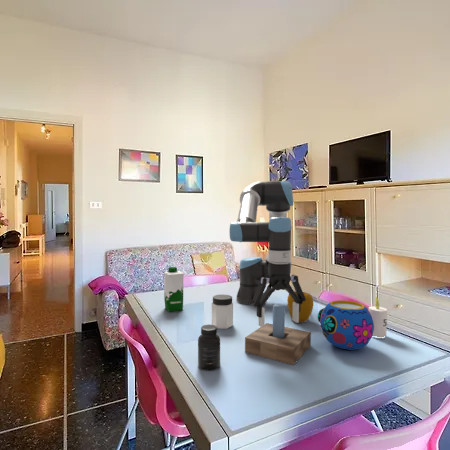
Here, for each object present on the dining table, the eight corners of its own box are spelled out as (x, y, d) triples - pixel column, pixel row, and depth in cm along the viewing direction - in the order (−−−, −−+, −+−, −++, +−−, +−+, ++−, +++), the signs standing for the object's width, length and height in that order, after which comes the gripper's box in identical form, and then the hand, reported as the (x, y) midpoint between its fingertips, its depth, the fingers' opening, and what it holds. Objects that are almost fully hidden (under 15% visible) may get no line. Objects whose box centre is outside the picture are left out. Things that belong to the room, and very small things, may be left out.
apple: (314, 318, 143) (315, 289, 142) (310, 326, 133) (310, 295, 132) (290, 315, 147) (290, 287, 147) (284, 322, 137) (284, 292, 137)
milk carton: (180, 305, 161) (180, 266, 161) (185, 310, 153) (185, 269, 153) (162, 307, 158) (162, 267, 157) (167, 312, 150) (167, 270, 149)
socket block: (266, 336, 122) (266, 323, 122) (310, 346, 113) (310, 332, 112) (245, 352, 107) (245, 337, 107) (293, 365, 98) (293, 349, 98)
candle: (379, 340, 118) (380, 300, 118) (364, 334, 124) (365, 296, 123) (390, 337, 121) (391, 298, 121) (375, 331, 127) (376, 294, 126)
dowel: (275, 345, 113) (275, 303, 112) (286, 348, 111) (286, 305, 110) (270, 349, 109) (271, 306, 109) (281, 352, 107) (282, 308, 107)
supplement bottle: (197, 361, 101) (198, 323, 100) (219, 360, 101) (219, 322, 101) (197, 371, 94) (197, 331, 94) (221, 370, 95) (221, 330, 94)
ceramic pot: (314, 336, 122) (314, 297, 121) (361, 337, 121) (362, 298, 120) (327, 357, 104) (328, 311, 104) (382, 358, 103) (383, 312, 103)
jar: (236, 327, 131) (236, 298, 131) (218, 330, 127) (218, 300, 127) (226, 320, 139) (226, 293, 139) (209, 323, 136) (209, 295, 135)
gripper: (252, 266, 101) (251, 332, 102) (316, 262, 110) (315, 322, 111) (241, 262, 108) (241, 324, 108) (303, 259, 117) (302, 316, 118)
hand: (278, 324), depth 110 cm, fingers open, 13 cm apart
